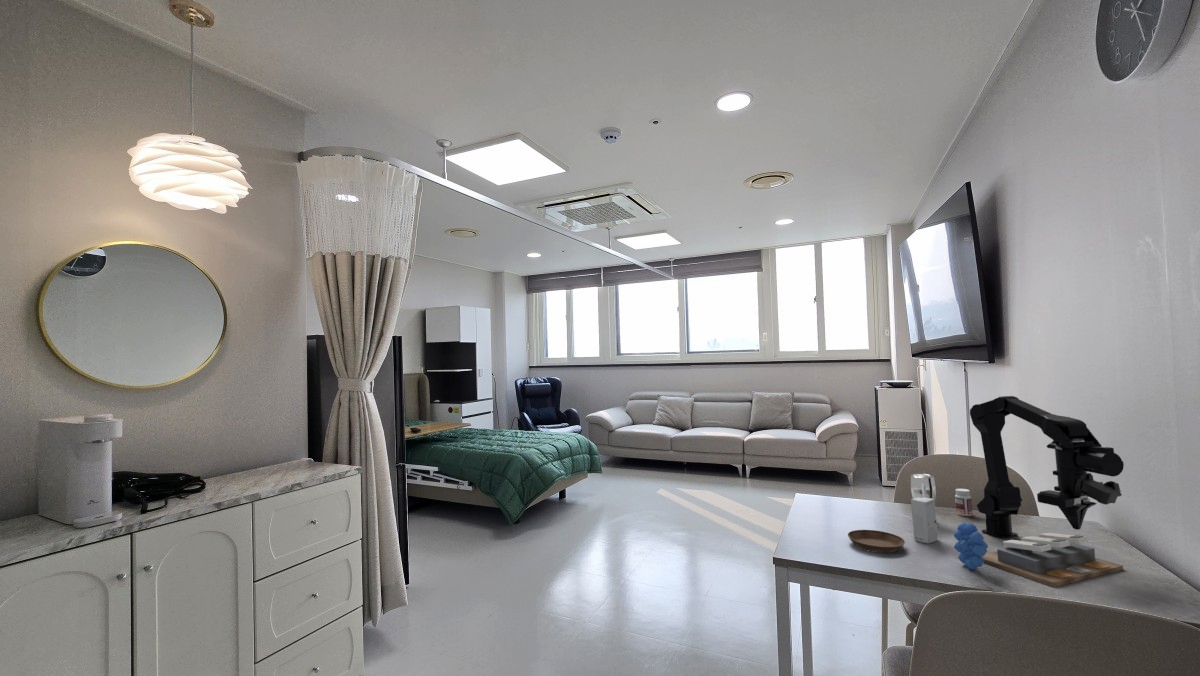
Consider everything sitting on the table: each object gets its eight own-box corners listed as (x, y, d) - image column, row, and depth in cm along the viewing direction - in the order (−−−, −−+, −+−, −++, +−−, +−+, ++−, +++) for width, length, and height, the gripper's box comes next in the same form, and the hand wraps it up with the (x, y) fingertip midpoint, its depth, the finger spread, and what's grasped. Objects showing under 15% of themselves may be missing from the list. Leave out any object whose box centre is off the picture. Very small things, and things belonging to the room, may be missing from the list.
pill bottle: (970, 512, 173) (968, 488, 174) (975, 516, 169) (973, 491, 169) (954, 512, 175) (952, 487, 175) (958, 515, 170) (956, 491, 171)
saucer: (902, 541, 149) (901, 532, 150) (909, 559, 136) (908, 548, 136) (847, 536, 156) (846, 527, 156) (849, 552, 142) (848, 542, 142)
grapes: (1004, 579, 121) (1000, 529, 122) (974, 578, 122) (970, 528, 123) (976, 560, 133) (972, 515, 133) (949, 560, 134) (945, 514, 134)
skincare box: (929, 544, 145) (926, 502, 146) (912, 540, 149) (909, 499, 150) (938, 539, 149) (935, 498, 150) (922, 535, 153) (919, 495, 153)
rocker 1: (1013, 544, 131) (1011, 538, 132) (1051, 549, 123) (1049, 543, 123) (1003, 546, 130) (1002, 540, 131) (1041, 551, 122) (1040, 545, 122)
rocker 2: (1048, 537, 136) (1047, 531, 136) (1088, 541, 127) (1086, 536, 128) (1039, 539, 135) (1038, 533, 135) (1079, 543, 126) (1077, 537, 127)
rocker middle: (1031, 540, 134) (1029, 535, 134) (1070, 545, 125) (1068, 539, 126) (1021, 542, 132) (1020, 537, 133) (1060, 547, 124) (1059, 541, 124)
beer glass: (908, 518, 169) (905, 474, 170) (927, 517, 170) (924, 473, 171) (923, 524, 163) (919, 478, 163) (943, 523, 163) (939, 477, 164)
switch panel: (1040, 545, 141) (1039, 528, 141) (1123, 569, 124) (1121, 549, 124) (975, 559, 133) (973, 541, 134) (1053, 587, 116) (1051, 566, 116)
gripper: (1086, 478, 119) (1092, 544, 118) (1134, 470, 124) (1140, 533, 123) (1033, 469, 129) (1038, 530, 128) (1080, 462, 135) (1085, 521, 134)
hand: (1076, 529), depth 128 cm, fingers closed
